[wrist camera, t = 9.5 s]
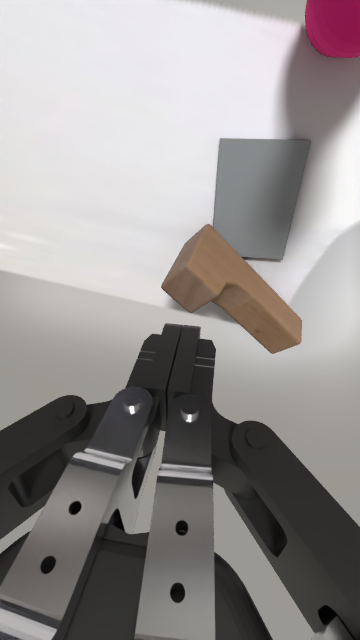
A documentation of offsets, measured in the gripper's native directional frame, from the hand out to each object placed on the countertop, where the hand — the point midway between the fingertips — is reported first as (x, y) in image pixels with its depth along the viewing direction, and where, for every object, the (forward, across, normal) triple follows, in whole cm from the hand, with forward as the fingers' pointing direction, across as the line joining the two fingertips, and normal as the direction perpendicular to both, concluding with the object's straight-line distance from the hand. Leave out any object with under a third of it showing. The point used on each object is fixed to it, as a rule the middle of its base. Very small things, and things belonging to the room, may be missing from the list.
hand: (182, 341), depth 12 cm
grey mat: (+24, -4, 0) cm, 25 cm away
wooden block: (+20, +3, +4) cm, 20 cm away
